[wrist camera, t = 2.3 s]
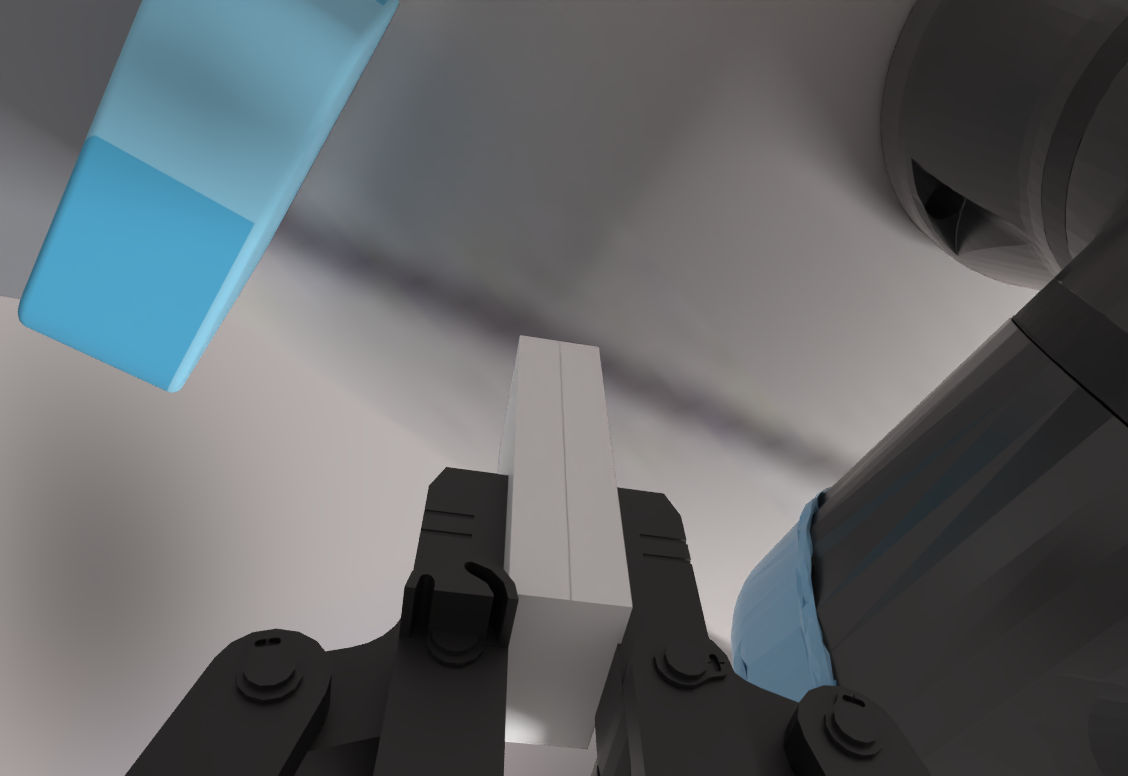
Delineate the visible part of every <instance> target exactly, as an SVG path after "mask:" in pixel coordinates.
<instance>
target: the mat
mask: <svg viewBox="0 0 1128 776" xmlns="http://www.w3.org/2000/svg"><path fill="white" fill-rule="evenodd" d="M141 2H142V0H0V296H4V297H11V298H18V299H21V296H22V294H23V291H24V289H25V286H26V284H27V281H28V279H29V276H30V274H31V272H32V269H33V267H34V264H35V262H36V259H37V257H38V254H39V252H40V249H41V247H42V245H43V242H44V240H45V237H46V235H47V232H48V230H49V227H50V225H51V223H52V220H53V218H54V215H55V213H56V210H57V208H58V205H59V203H60V200H61V198H62V196H63V193H64V191H65V188H66V186H67V183H68V181H69V178H70V176H71V174H72V171H73V169H74V166H75V164H76V161H77V159H78V156H79V154H80V151H81V149H82V147H83V144H84V142H85V139H86V137H87V134H88V132H89V129H90V127H91V124H92V122H93V120H94V117H95V115H96V112H97V110H98V107H99V105H100V102H101V100H102V98H103V95H104V93H105V90H106V88H107V85H108V83H109V80H110V78H111V75H112V73H113V71H114V68H115V66H116V63H117V61H118V58H119V56H120V53H121V51H122V49H123V46H124V44H125V41H126V39H127V36H128V34H129V31H130V29H131V26H132V24H133V22H134V19H135V17H136V14H137V12H138V9H139V7H140V4H141Z"/></svg>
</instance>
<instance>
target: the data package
mask: <svg viewBox="0 0 1128 776" xmlns="http://www.w3.org/2000/svg"><path fill="white" fill-rule="evenodd" d="M398 5H399V0H142V2H141V4H140V7H139V9H138V12H137V14H136V17H135V19H134V22H133V24H132V26H131V29H130V31H129V34H128V36H127V39H126V41H125V44H124V46H123V49H122V51H121V53H120V56H119V58H118V61H117V63H116V66H115V68H114V71H113V73H112V75H111V78H110V80H109V83H108V85H107V88H106V90H105V93H104V95H103V98H102V100H101V102H100V105H99V107H98V110H97V112H96V115H95V117H94V120H93V122H92V124H91V127H90V129H89V132H88V134H87V137H86V139H85V142H84V144H83V147H82V149H81V151H80V154H79V156H78V159H77V161H76V164H75V166H74V169H73V171H72V174H71V176H70V178H69V181H68V183H67V186H66V188H65V191H64V193H63V196H62V198H61V200H60V203H59V205H58V208H57V210H56V213H55V215H54V218H53V220H52V223H51V225H50V227H49V230H48V232H47V235H46V237H45V240H44V242H43V245H42V247H41V249H40V252H39V254H38V257H37V259H36V262H35V264H34V267H33V269H32V272H31V274H30V276H29V279H28V281H27V284H26V286H25V289H24V291H23V294H22V296H21V300H20V303H19V308H18V316H19V320H20V322H21V323H22V324H23V325H24V326H26V327H28V328H30V329H32V330H35V331H37V332H39V333H41V334H43V335H46V336H48V337H50V338H52V339H54V340H56V341H58V342H61V343H63V344H65V345H67V346H69V347H72V348H74V349H76V350H78V351H80V352H82V353H85V354H87V355H89V356H91V357H93V358H95V359H98V360H100V361H102V362H104V363H107V364H109V365H111V366H113V367H115V368H117V369H119V370H122V371H124V372H126V373H128V374H131V375H133V376H135V377H137V378H139V379H141V380H144V381H146V382H148V383H150V384H152V385H154V386H156V387H159V388H161V389H163V390H165V391H168V392H177V391H179V390H180V389H181V388H182V387H183V385H184V384H185V382H186V380H187V379H188V377H189V375H190V374H191V372H192V371H193V369H194V367H195V366H196V364H197V362H198V361H199V359H200V357H201V356H202V354H203V353H204V351H205V349H206V348H207V346H208V344H209V343H210V341H211V339H212V338H213V336H214V334H215V333H216V331H217V330H218V328H219V326H220V325H221V323H222V321H223V320H224V318H225V317H226V315H227V313H228V312H229V310H230V308H231V307H232V305H233V303H234V302H235V300H236V299H237V297H238V295H239V294H240V292H241V290H242V289H243V287H244V285H245V284H246V282H247V281H248V279H249V277H250V276H251V274H252V272H253V271H254V269H255V267H256V266H257V264H258V262H259V261H260V259H261V257H262V255H263V254H264V252H265V250H266V248H267V247H268V245H269V243H270V241H271V240H272V238H273V236H274V234H275V232H276V230H277V229H278V227H279V225H280V223H281V221H282V219H283V218H284V216H285V214H286V212H287V210H288V208H289V207H290V205H291V203H292V201H293V199H294V197H295V196H296V194H297V192H298V190H299V188H300V186H301V185H302V183H303V181H304V179H305V177H306V175H307V174H308V172H309V170H310V168H311V166H312V164H313V163H314V161H315V159H316V157H317V155H318V153H319V152H320V150H321V148H322V146H323V144H324V142H325V141H326V139H327V137H328V135H329V133H330V131H331V130H332V128H333V126H334V124H335V122H336V120H337V118H338V117H339V115H340V113H341V111H342V109H343V107H344V106H345V104H346V102H347V100H348V98H349V96H350V95H351V93H352V91H353V89H354V87H355V85H356V84H357V82H358V80H359V78H360V76H361V74H362V73H363V71H364V69H365V67H366V65H367V63H368V62H369V60H370V58H371V56H372V54H373V52H374V51H375V49H376V47H377V45H378V43H379V41H380V40H381V38H382V36H383V34H384V32H385V30H386V28H387V27H388V25H389V23H390V21H391V19H392V17H393V15H394V13H395V11H396V9H397V7H398Z"/></svg>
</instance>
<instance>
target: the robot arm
mask: <svg viewBox="0 0 1128 776" xmlns="http://www.w3.org/2000/svg"><path fill="white" fill-rule="evenodd" d="M881 137H882V147H883V154H884V159H885V165H886V168H887V172H888V175H889V179H890V181H891V184H892V186H893V189H894V191H895V193H896V195H897V197H898V199H899V201H900V203H901V205H902V206H903V208H904V210H905V211H906V213H907V214H908V215H909V217H910V218H911V219H912V221H913V222H914V223H915V224H916V225H917V226H918V227H919V228H920V230H922V231H923V232H924V233H925V234H926V235H927V236H928V237H929V238H930V239H931V240H933V241H934V242H935V243H936V244H937V245H938V246H939V247H940V248H942V249H943V250H944V251H945V252H946V253H947V254H949V255H950V256H951V257H953V258H954V259H955V260H957V261H958V262H960V263H961V264H963V265H965V266H966V267H968V268H970V269H972V270H974V271H976V272H978V273H980V274H982V275H984V276H987V277H989V278H992V279H994V280H997V281H1001V282H1004V283H1007V284H1012V285H1017V286H1021V287H1027V288H1032V289H1037V290H1041V291H1040V292H1039V293H1038V294H1037V295H1036V296H1035V297H1034V298H1033V299H1031V300H1030V301H1029V302H1028V303H1027V304H1026V305H1025V306H1024V307H1023V308H1022V309H1021V310H1020V311H1019V312H1018V313H1017V314H1016V315H1015V316H1013V317H1012V318H1009V319H1008V320H1007V321H1006V322H1005V323H1004V324H1003V325H1002V326H1001V327H1000V328H999V329H998V330H997V331H996V332H995V333H994V334H993V335H991V336H990V337H989V338H988V339H987V340H986V341H985V342H984V343H983V344H982V345H981V346H980V347H979V348H978V349H977V350H976V351H975V352H974V353H972V354H971V355H970V356H969V357H968V358H967V359H966V360H965V361H964V362H963V363H962V364H961V365H960V366H959V367H958V368H957V369H956V370H955V371H954V372H952V373H951V374H950V375H949V376H948V377H947V378H946V379H945V380H944V381H943V382H942V383H941V384H940V385H939V386H938V387H937V388H936V389H935V390H934V391H932V392H931V393H930V394H929V395H928V396H927V397H926V398H925V399H924V400H923V401H922V402H921V403H920V404H919V405H918V406H917V407H916V408H915V409H914V410H912V411H911V412H910V413H909V414H908V415H907V416H906V417H905V418H904V419H903V420H902V421H901V422H900V423H899V424H898V425H897V426H896V427H895V428H894V429H892V430H891V431H890V432H889V433H888V434H887V435H886V436H885V437H884V438H883V439H882V440H881V441H880V442H879V443H878V444H877V445H876V446H875V447H874V448H872V449H871V450H870V451H869V452H868V453H867V454H866V455H865V456H864V457H863V458H862V459H861V460H860V461H859V462H858V463H857V464H856V465H855V466H853V467H852V468H851V469H850V470H849V471H848V472H847V473H846V474H845V475H844V476H843V477H842V478H841V479H840V480H839V481H838V482H837V483H836V484H835V485H833V486H832V487H830V488H827V489H825V490H823V491H822V492H820V493H819V494H817V495H816V497H815V498H814V499H812V500H811V501H810V502H809V503H807V504H806V505H805V507H804V509H803V511H802V514H801V516H800V519H799V521H798V523H797V524H796V525H795V526H794V527H793V528H792V529H791V530H790V531H789V532H788V533H787V534H786V535H785V536H784V537H783V538H782V539H781V541H780V542H779V543H778V544H777V545H776V546H775V547H774V548H773V549H772V550H771V551H770V552H769V553H768V554H767V555H766V556H765V557H764V559H763V560H762V561H761V562H760V563H759V564H758V565H757V566H756V567H755V568H754V569H753V570H752V572H751V573H750V575H749V576H748V578H747V579H746V581H745V583H744V585H743V587H742V589H741V592H740V594H739V596H738V599H737V602H736V606H735V609H734V614H733V622H732V632H731V652H732V658H733V668H732V666H731V664H730V661H729V659H728V657H727V655H726V654H725V653H724V652H723V651H722V650H721V649H720V648H719V647H718V646H717V645H716V644H715V643H714V642H713V641H712V640H710V639H709V637H708V633H707V629H706V625H705V620H704V616H703V611H702V607H701V603H700V598H699V594H698V589H697V585H696V581H695V576H694V572H693V567H692V564H690V560H691V558H690V554H689V550H688V545H687V544H686V536H685V532H684V528H683V523H682V519H681V516H680V514H679V513H678V512H677V510H676V509H675V508H674V506H673V505H672V504H671V502H670V501H669V500H668V498H667V497H666V496H665V495H664V494H663V493H655V492H648V491H640V490H632V489H625V488H617V484H616V476H615V468H614V461H613V453H612V445H611V438H610V430H609V422H608V415H607V407H606V399H605V392H604V384H603V376H602V369H601V361H600V353H599V347H595V346H588V345H582V344H575V343H569V342H562V341H555V340H549V339H542V338H536V337H529V336H522V335H520V337H519V343H518V349H517V354H516V360H515V366H514V371H513V377H512V383H511V388H510V394H509V400H508V405H507V411H506V417H505V422H504V428H503V434H502V439H501V445H500V451H499V461H498V474H495V473H487V472H480V471H472V470H464V469H457V468H449V467H446V468H445V469H444V470H443V471H442V472H441V473H440V475H438V477H437V478H436V479H435V480H434V481H433V482H432V483H431V484H430V485H429V489H428V494H427V500H426V505H425V511H424V516H423V521H422V527H421V533H420V537H419V543H418V549H417V554H416V559H415V564H414V570H413V571H412V573H411V575H410V577H409V579H408V581H407V583H406V585H405V588H404V597H403V605H402V614H401V619H400V620H399V622H398V623H397V624H396V625H395V626H394V627H393V628H392V629H391V630H390V631H388V632H387V633H386V634H384V635H383V636H381V637H379V638H377V639H375V640H373V641H371V642H369V643H366V644H362V645H358V646H354V647H350V648H344V649H338V650H332V651H326V652H325V651H324V649H323V648H322V647H321V646H320V644H319V643H318V642H317V641H315V640H314V639H312V638H310V637H308V636H306V635H304V634H302V633H300V632H296V631H289V630H282V629H272V630H265V631H259V632H253V633H251V634H248V635H246V636H244V637H242V638H240V639H238V640H235V641H233V642H231V643H230V644H229V645H228V646H227V647H226V648H225V649H224V650H222V651H221V653H219V654H218V655H217V656H216V657H215V658H214V659H213V661H212V662H211V663H210V664H209V666H208V667H207V668H206V670H205V671H204V672H203V674H202V675H201V676H200V678H199V679H198V680H197V682H196V683H195V684H194V685H193V687H192V688H191V689H190V691H189V692H188V693H187V695H186V696H185V697H184V699H183V700H182V701H181V703H180V704H179V705H178V706H177V708H176V709H175V710H174V712H173V713H172V714H171V716H170V717H169V718H168V720H167V721H166V722H165V724H164V725H163V726H162V727H161V729H160V730H159V731H158V733H157V734H156V735H155V737H154V738H153V739H152V741H151V742H150V743H149V745H148V746H147V747H146V749H145V750H144V751H143V753H142V754H141V755H140V756H139V758H138V759H137V760H136V762H135V763H134V764H133V766H132V767H131V768H130V770H129V771H128V772H127V773H126V775H125V776H504V749H505V742H517V743H527V744H538V745H548V746H558V747H570V748H580V749H588V747H589V744H590V741H591V737H592V734H593V731H594V728H595V729H596V743H597V759H596V762H595V765H594V768H593V771H592V774H591V776H1128V0H917V2H916V4H915V6H914V7H913V9H912V11H911V13H910V15H909V17H908V19H907V21H906V23H905V25H904V27H903V30H902V32H901V34H900V37H899V39H898V42H897V44H896V47H895V50H894V53H893V56H892V59H891V62H890V66H889V70H888V74H887V78H886V83H885V88H884V94H883V102H882V114H881Z"/></svg>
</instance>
